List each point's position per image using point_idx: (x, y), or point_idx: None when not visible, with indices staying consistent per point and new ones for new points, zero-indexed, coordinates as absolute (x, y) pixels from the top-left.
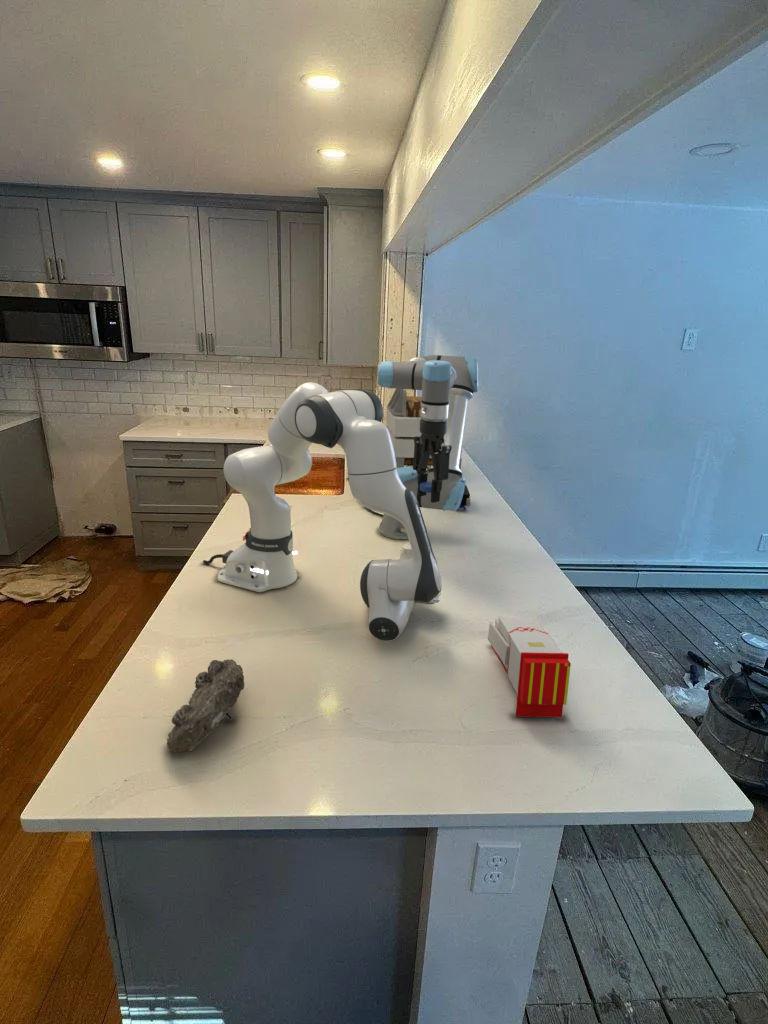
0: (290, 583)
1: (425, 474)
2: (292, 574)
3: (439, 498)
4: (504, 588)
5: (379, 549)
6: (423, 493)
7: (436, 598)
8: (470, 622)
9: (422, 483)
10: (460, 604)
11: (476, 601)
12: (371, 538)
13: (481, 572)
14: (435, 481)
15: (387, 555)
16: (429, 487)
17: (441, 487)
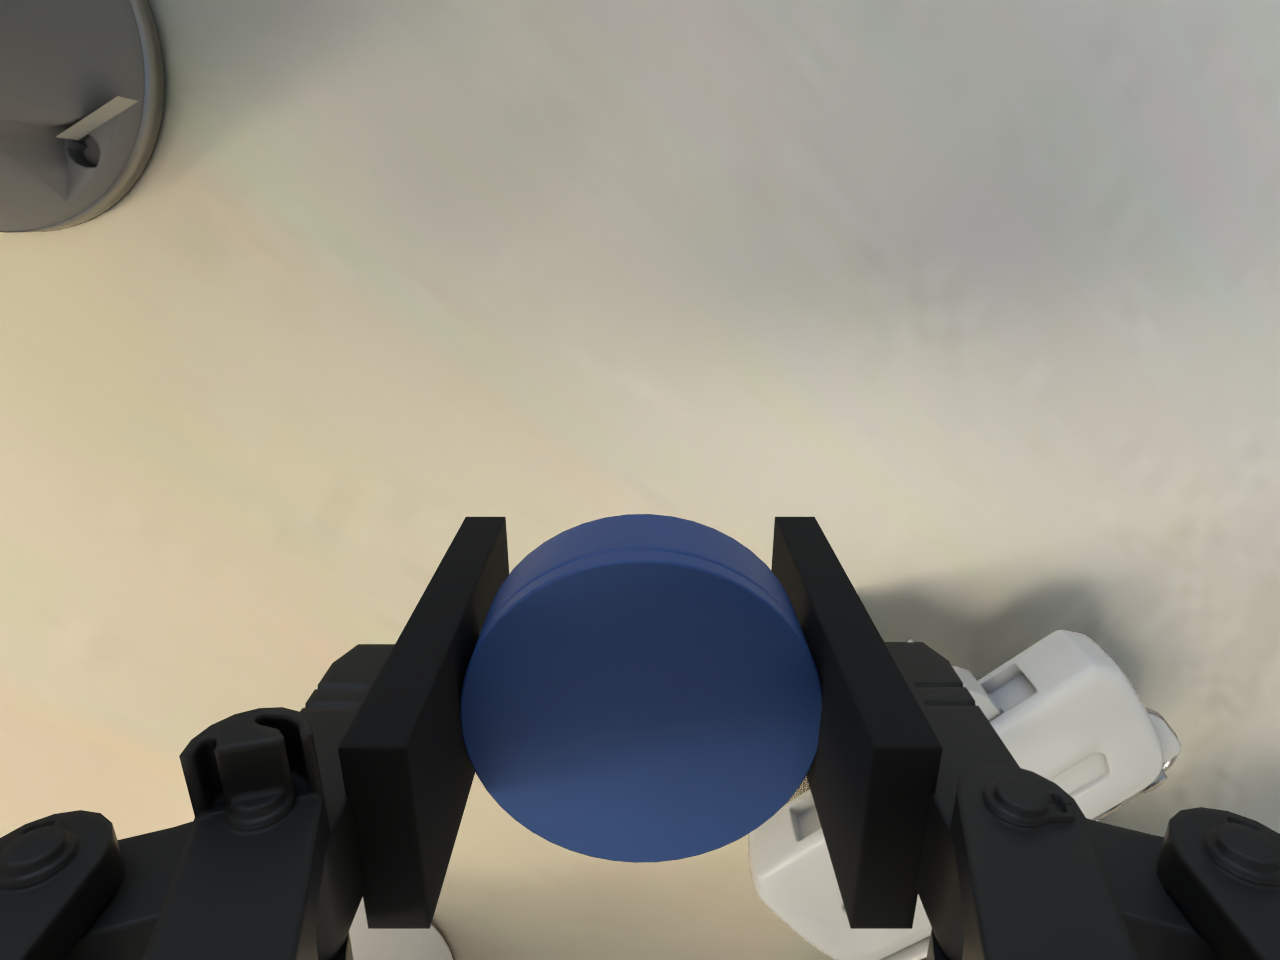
0: (444, 945)
1: (410, 801)
2: (414, 958)
3: (825, 540)
4: (1135, 60)
5: (240, 392)
6: (501, 584)
7: (1165, 750)
8: (1205, 533)
9: (533, 790)
10: (1062, 452)
11: (1104, 354)
12: (46, 328)
13: (881, 10)
14: (913, 876)
15: (345, 404)
16: (773, 810)
17: (965, 693)
